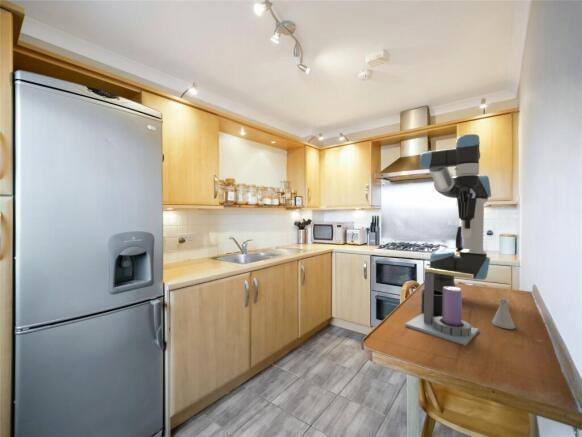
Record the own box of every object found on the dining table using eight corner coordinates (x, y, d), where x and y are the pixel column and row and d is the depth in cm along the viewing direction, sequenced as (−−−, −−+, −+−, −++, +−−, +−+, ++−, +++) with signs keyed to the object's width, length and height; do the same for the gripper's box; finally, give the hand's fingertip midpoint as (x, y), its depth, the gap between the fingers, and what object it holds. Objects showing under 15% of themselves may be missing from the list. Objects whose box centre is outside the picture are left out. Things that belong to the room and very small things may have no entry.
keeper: (426, 270, 105) (426, 267, 105) (474, 277, 93) (474, 274, 93) (422, 271, 102) (422, 268, 102) (471, 279, 90) (471, 275, 90)
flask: (493, 320, 108) (493, 296, 108) (516, 326, 103) (516, 300, 102) (489, 325, 103) (490, 300, 103) (514, 331, 98) (514, 304, 97)
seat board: (421, 315, 112) (422, 267, 112) (478, 331, 97) (479, 276, 97) (405, 326, 101) (405, 272, 101) (465, 345, 86) (466, 283, 86)
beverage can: (458, 334, 92) (459, 291, 92) (439, 328, 96) (440, 287, 96) (463, 329, 96) (463, 288, 96) (445, 324, 101) (445, 285, 101)
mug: (448, 320, 107) (449, 298, 107) (418, 312, 116) (418, 291, 116) (455, 314, 114) (455, 293, 114) (425, 307, 122) (426, 288, 122)
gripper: (449, 178, 109) (448, 235, 109) (463, 173, 96) (462, 238, 96) (470, 178, 107) (469, 236, 107) (486, 173, 94) (485, 238, 95)
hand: (465, 237), depth 102 cm, fingers closed
